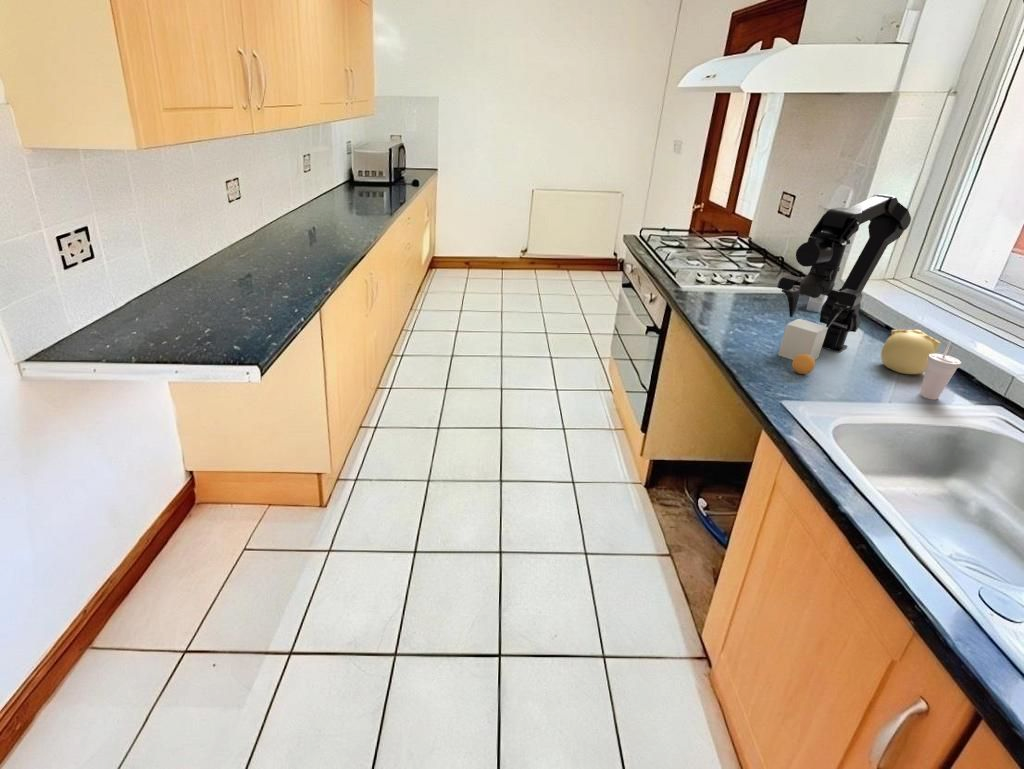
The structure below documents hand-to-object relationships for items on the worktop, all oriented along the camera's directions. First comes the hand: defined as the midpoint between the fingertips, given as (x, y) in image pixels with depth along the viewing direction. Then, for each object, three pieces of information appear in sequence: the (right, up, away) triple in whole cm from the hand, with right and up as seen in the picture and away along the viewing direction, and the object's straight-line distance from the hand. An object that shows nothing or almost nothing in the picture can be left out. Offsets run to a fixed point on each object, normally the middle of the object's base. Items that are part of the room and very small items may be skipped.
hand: (808, 322), depth 149 cm
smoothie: (+21, -19, -13) cm, 32 cm away
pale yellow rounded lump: (+25, -13, +1) cm, 28 cm away
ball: (-5, -11, -7) cm, 14 cm away
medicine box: (+26, +9, +45) cm, 53 cm away
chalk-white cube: (-1, -9, +4) cm, 10 cm away
